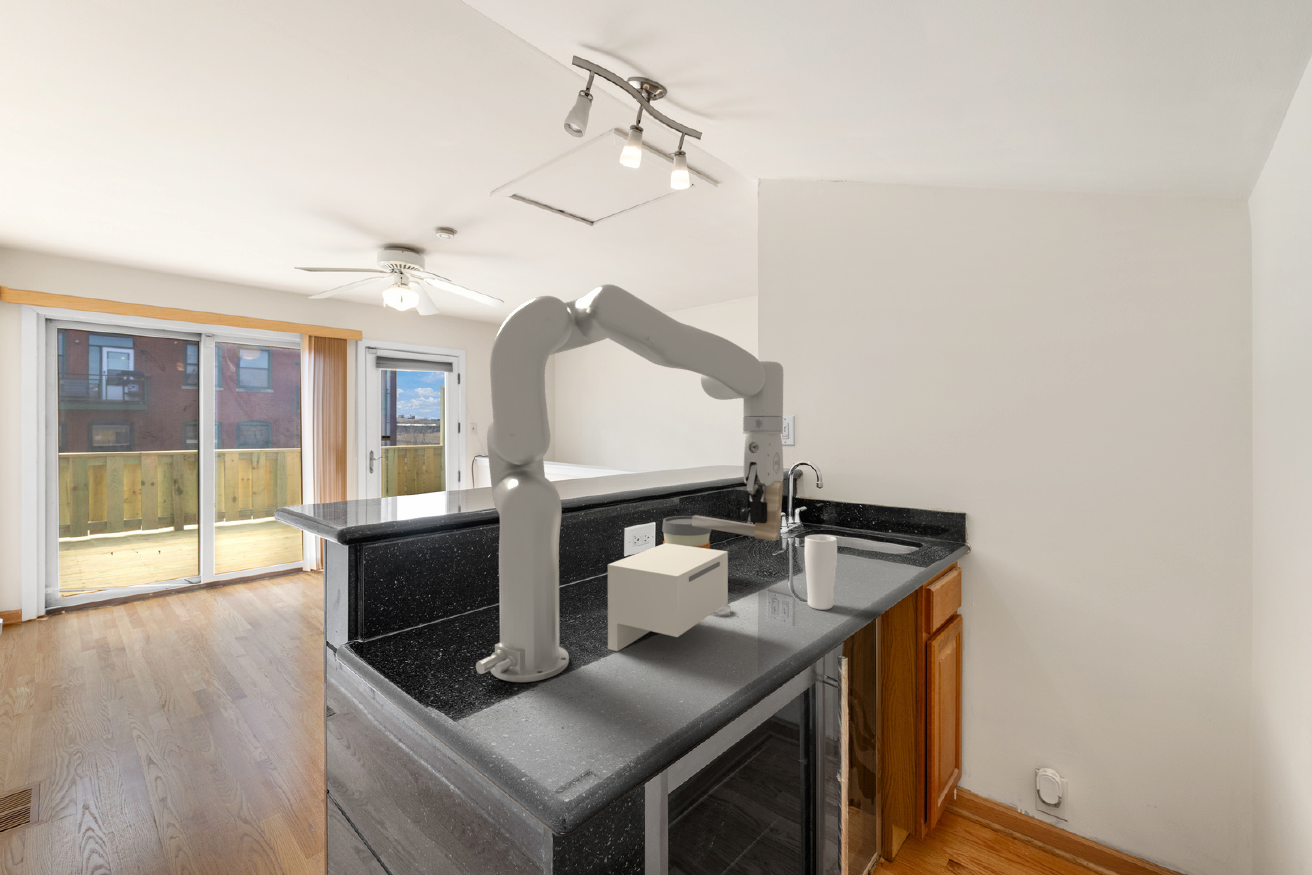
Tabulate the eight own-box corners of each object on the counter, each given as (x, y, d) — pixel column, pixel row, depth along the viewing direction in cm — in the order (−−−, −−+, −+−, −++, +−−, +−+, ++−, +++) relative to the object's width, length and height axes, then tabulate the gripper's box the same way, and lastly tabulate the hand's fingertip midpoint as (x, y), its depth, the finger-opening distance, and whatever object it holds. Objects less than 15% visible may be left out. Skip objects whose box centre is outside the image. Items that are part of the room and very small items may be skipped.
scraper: (774, 540, 104) (777, 483, 103) (690, 526, 113) (692, 473, 113) (779, 538, 107) (783, 481, 106) (696, 524, 116) (699, 472, 115)
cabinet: (678, 667, 90) (678, 576, 89) (607, 648, 97) (607, 564, 97) (728, 628, 107) (728, 551, 106) (665, 614, 114) (665, 543, 114)
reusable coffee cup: (697, 588, 132) (697, 526, 132) (652, 580, 139) (652, 521, 139) (719, 575, 143) (719, 518, 143) (677, 569, 150) (677, 514, 149)
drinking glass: (808, 599, 124) (809, 533, 124) (839, 604, 121) (840, 536, 120) (800, 608, 118) (800, 538, 118) (832, 614, 115) (833, 542, 114)
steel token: (723, 619, 112) (723, 612, 112) (702, 614, 115) (702, 607, 115) (734, 612, 116) (734, 605, 116) (714, 607, 119) (714, 601, 119)
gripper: (766, 426, 97) (765, 530, 98) (795, 426, 111) (794, 516, 112) (727, 426, 101) (726, 525, 102) (759, 426, 115) (758, 513, 116)
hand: (762, 520), depth 107 cm, fingers closed on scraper, 3 cm apart
